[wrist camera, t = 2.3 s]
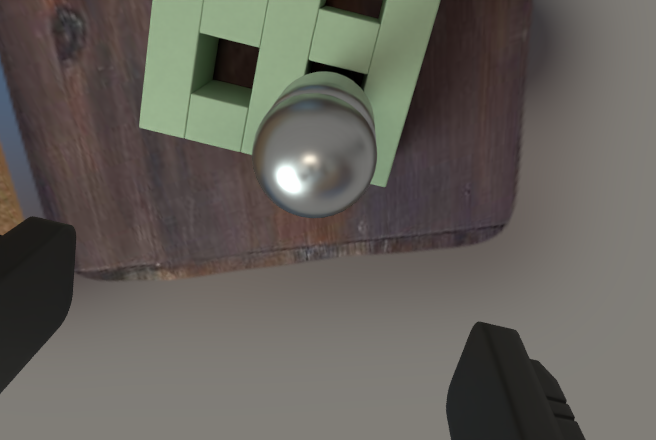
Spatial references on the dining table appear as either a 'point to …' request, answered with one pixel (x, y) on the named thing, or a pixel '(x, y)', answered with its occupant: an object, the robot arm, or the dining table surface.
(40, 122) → the dining table surface
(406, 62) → the rack
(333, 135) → the microphone
